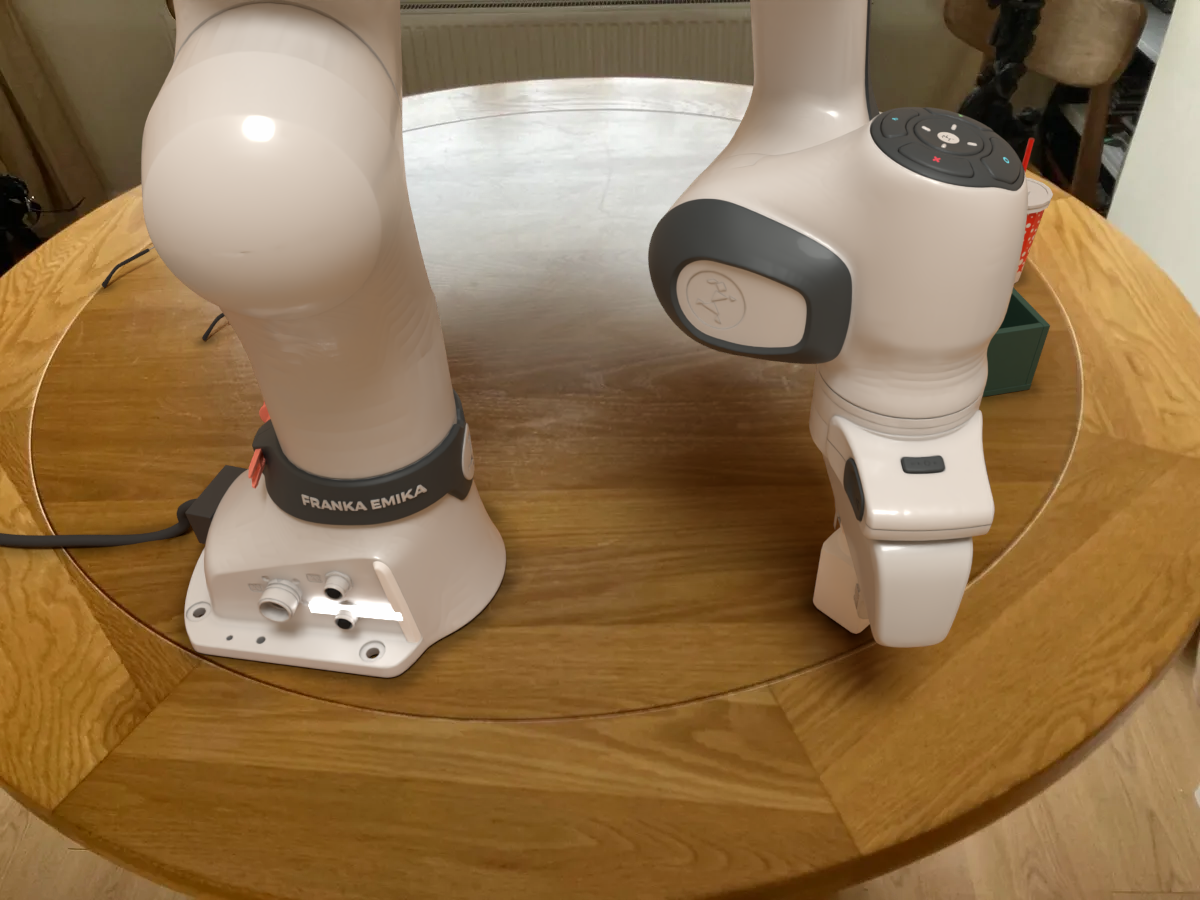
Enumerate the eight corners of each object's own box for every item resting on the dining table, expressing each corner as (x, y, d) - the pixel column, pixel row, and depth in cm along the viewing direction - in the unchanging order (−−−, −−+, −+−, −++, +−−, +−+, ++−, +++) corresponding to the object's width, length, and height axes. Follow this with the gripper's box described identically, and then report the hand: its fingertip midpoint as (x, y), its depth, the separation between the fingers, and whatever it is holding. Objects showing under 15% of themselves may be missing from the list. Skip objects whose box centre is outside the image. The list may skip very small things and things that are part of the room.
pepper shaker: (856, 640, 63) (878, 542, 57) (808, 606, 66) (824, 508, 59) (892, 607, 65) (917, 508, 59) (844, 575, 67) (863, 476, 61)
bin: (894, 411, 80) (908, 347, 76) (844, 336, 89) (853, 274, 84) (1029, 389, 82) (1050, 325, 77) (967, 317, 90) (983, 256, 86)
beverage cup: (965, 254, 99) (997, 121, 89) (1028, 262, 97) (1068, 128, 88) (961, 285, 94) (994, 149, 85) (1027, 294, 93) (1068, 156, 83)
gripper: (803, 308, 61) (784, 466, 71) (876, 543, 46) (840, 706, 55) (902, 304, 61) (870, 463, 71) (1008, 538, 46) (950, 702, 55)
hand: (858, 572), depth 63 cm, fingers closed on pepper shaker, 5 cm apart
